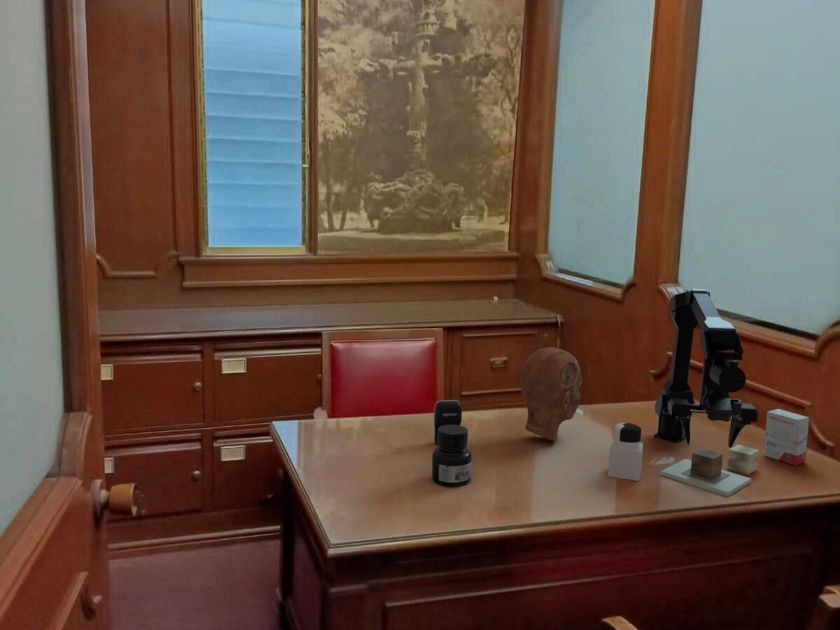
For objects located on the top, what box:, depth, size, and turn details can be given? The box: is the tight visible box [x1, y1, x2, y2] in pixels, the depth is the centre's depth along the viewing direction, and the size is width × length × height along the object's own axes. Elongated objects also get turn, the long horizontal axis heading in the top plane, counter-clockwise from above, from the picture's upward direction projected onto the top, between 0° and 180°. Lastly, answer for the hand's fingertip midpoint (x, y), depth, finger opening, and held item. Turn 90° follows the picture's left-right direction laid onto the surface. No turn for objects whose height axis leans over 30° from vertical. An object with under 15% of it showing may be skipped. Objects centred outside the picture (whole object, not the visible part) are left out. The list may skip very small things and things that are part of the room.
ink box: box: [763, 408, 810, 466], centre depth 186 cm, size 9×5×12 cm, turn 33°
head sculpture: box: [519, 346, 583, 442], centre depth 196 cm, size 16×18×25 cm
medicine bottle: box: [607, 422, 644, 482], centre depth 174 cm, size 7×7×12 cm
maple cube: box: [727, 444, 760, 475], centre depth 180 cm, size 5×5×5 cm
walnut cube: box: [691, 447, 724, 480], centre depth 173 cm, size 5×5×5 cm
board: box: [660, 458, 752, 497], centre depth 173 cm, size 16×12×1 cm
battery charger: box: [433, 399, 463, 445], centre depth 191 cm, size 7×4×11 cm, turn 98°
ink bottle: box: [431, 425, 473, 487], centre depth 168 cm, size 10×9×12 cm
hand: (708, 445), depth 172 cm, fingers open, 9 cm apart
